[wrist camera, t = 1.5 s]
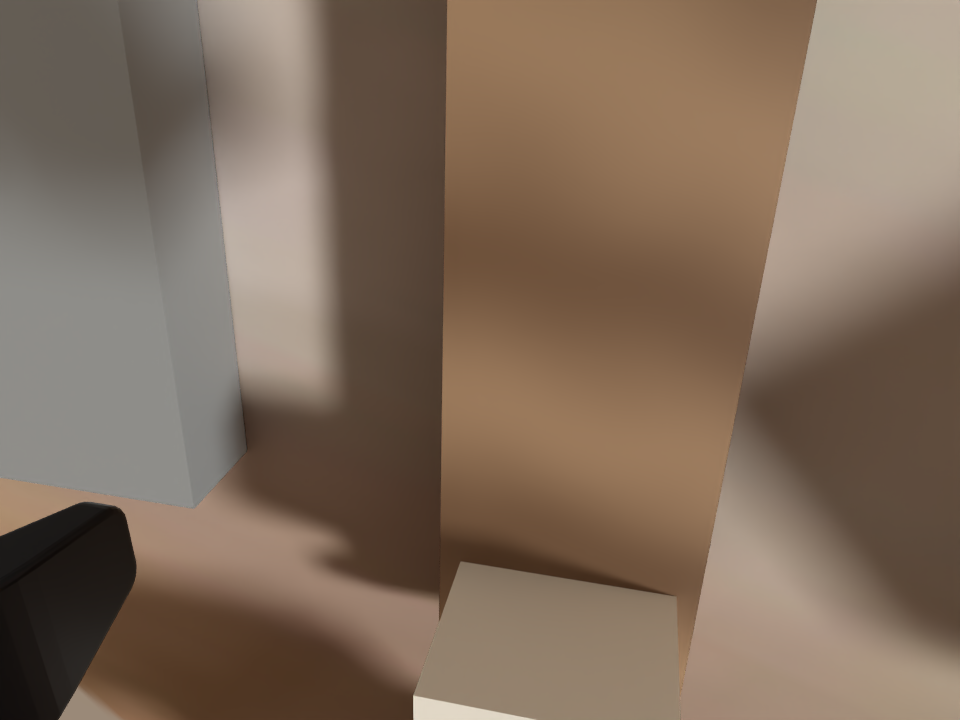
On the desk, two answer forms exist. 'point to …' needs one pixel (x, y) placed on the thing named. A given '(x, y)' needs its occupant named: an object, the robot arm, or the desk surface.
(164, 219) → the dock
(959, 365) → the desk surface
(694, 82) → the pallet
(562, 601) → the block
